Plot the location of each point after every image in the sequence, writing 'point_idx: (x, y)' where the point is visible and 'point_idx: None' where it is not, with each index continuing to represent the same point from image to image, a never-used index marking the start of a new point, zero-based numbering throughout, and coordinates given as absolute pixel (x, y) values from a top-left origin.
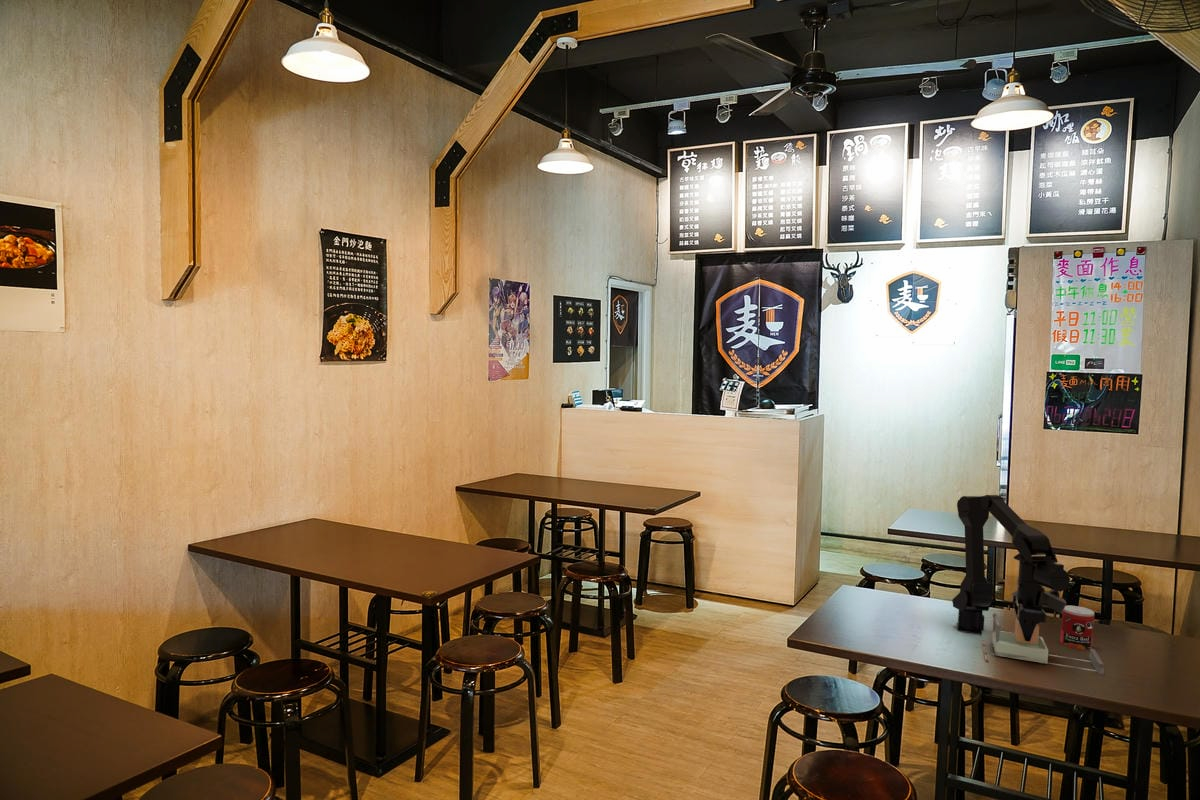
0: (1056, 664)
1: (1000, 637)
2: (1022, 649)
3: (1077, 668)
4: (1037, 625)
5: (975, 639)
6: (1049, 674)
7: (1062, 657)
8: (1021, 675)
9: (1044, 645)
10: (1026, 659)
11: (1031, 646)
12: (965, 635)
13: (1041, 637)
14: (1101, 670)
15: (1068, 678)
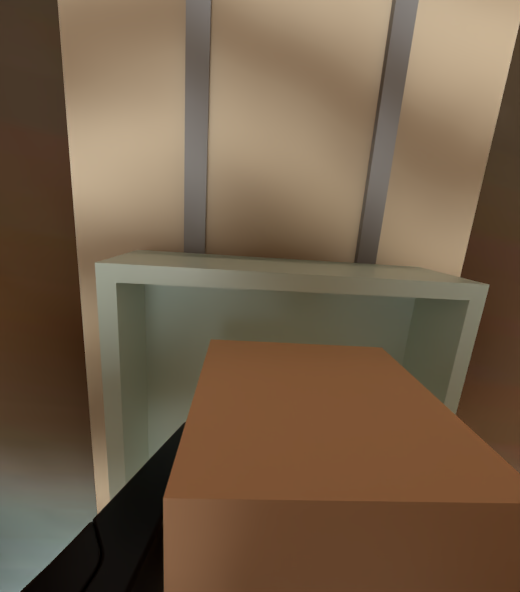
0: (378, 203)
1: None
2: None
3: (405, 68)
4: (517, 523)
5: (58, 540)
6: (468, 263)
7: (208, 120)
8: (513, 394)
9: (363, 291)
10: None
11: (178, 327)
12: (18, 576)
13: (109, 271)
14: None
15: (503, 170)
